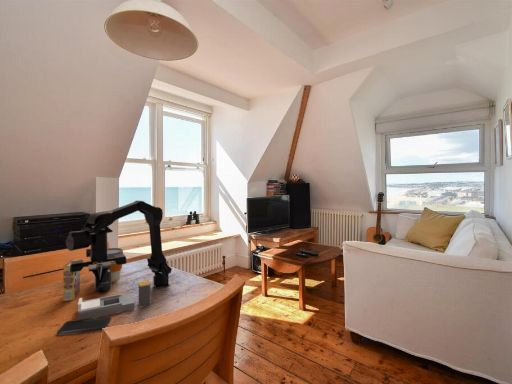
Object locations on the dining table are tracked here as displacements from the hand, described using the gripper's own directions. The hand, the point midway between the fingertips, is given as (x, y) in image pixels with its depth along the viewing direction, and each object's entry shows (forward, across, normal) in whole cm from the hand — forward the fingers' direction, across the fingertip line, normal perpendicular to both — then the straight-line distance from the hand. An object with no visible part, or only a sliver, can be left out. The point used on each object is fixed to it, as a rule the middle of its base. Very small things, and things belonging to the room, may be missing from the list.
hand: (99, 283), depth 102 cm
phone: (+11, +5, +10) cm, 16 cm away
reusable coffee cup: (+11, -6, -35) cm, 37 cm away
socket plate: (+11, -2, 0) cm, 11 cm away
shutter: (+8, +4, 0) cm, 9 cm away
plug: (+11, -16, +4) cm, 20 cm away
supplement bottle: (+11, -2, -21) cm, 24 cm away
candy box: (+11, +10, -21) cm, 25 cm away
